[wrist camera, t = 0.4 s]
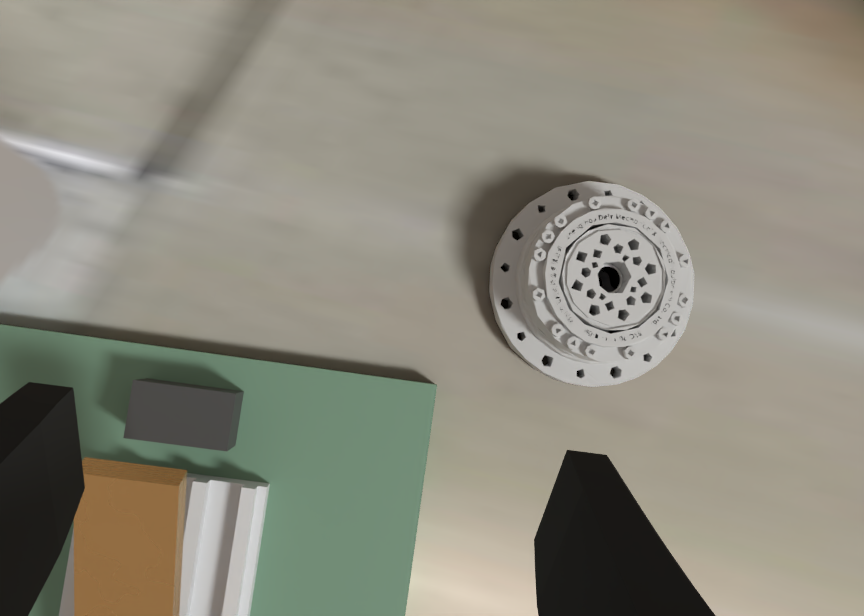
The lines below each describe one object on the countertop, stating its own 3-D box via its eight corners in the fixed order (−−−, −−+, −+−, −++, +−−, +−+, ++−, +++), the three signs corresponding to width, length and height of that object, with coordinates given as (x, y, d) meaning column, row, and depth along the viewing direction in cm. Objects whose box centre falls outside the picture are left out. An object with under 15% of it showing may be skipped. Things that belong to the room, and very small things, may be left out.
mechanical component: (553, 149, 39) (449, 316, 38) (577, 123, 35) (460, 312, 34) (718, 255, 39) (619, 423, 39) (761, 243, 35) (651, 432, 34)
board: (381, 765, 36) (383, 834, 31) (-104, 715, 35) (-188, 779, 30) (434, 383, 38) (445, 388, 32) (-32, 319, 36) (-101, 313, 31)
